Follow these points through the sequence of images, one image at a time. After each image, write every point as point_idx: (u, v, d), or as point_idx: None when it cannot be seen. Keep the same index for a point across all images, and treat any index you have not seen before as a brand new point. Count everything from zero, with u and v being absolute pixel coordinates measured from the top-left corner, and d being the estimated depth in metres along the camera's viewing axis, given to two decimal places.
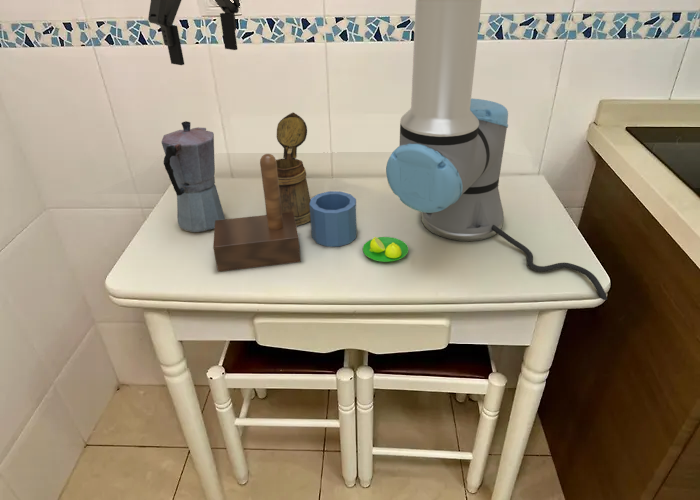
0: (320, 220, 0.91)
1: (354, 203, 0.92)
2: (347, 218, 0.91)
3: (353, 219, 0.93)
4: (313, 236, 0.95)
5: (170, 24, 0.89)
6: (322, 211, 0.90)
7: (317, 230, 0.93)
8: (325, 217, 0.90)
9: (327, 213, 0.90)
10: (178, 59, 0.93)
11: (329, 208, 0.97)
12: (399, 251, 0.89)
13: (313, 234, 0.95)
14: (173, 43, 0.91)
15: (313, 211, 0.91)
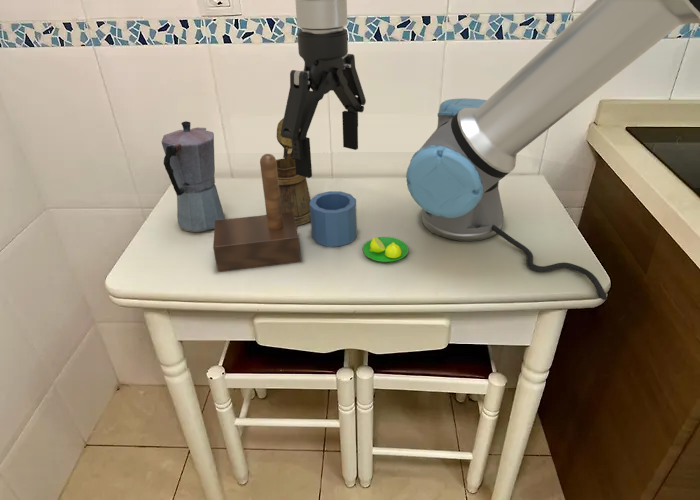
0: (320, 220, 0.91)
1: (354, 203, 0.92)
2: (347, 218, 0.91)
3: (353, 219, 0.93)
4: (313, 236, 0.95)
5: (303, 138, 0.79)
6: (322, 211, 0.90)
7: (317, 230, 0.93)
8: (325, 217, 0.90)
9: (327, 213, 0.90)
10: (306, 172, 0.83)
11: (329, 208, 0.97)
12: (399, 251, 0.89)
13: (313, 234, 0.95)
14: (303, 156, 0.81)
15: (313, 211, 0.91)
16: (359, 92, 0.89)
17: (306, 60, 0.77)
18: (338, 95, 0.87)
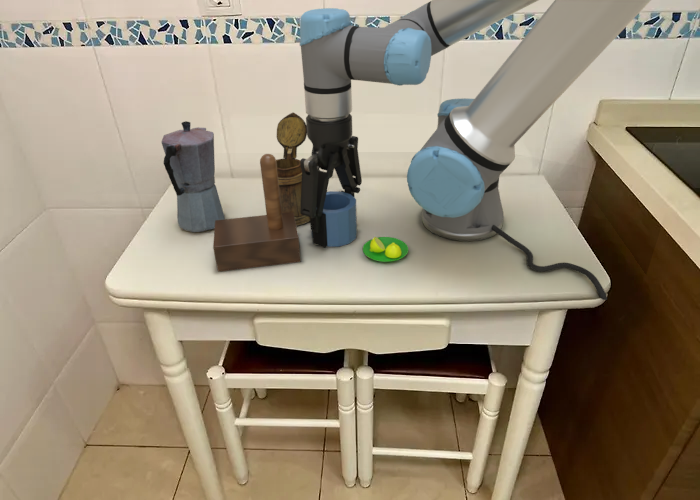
0: None
1: (354, 203, 0.92)
2: (347, 218, 0.91)
3: (353, 219, 0.93)
4: None
5: (321, 214, 0.88)
6: None
7: None
8: None
9: (327, 213, 0.90)
10: (322, 242, 0.92)
11: (329, 208, 0.97)
12: (399, 251, 0.89)
13: None
14: (320, 229, 0.91)
15: None
16: (357, 172, 0.95)
17: (314, 143, 0.84)
18: (338, 174, 0.93)
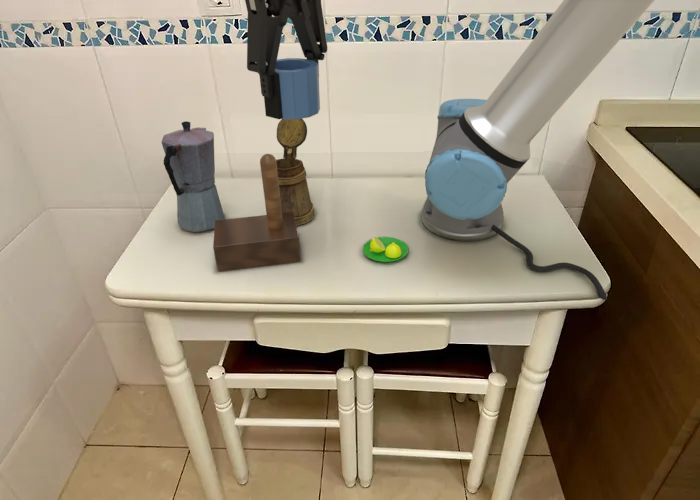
0: None
1: (315, 66, 0.77)
2: (305, 81, 0.76)
3: (314, 86, 0.77)
4: None
5: (272, 72, 0.73)
6: (275, 71, 0.75)
7: None
8: (279, 78, 0.75)
9: (281, 73, 0.74)
10: (276, 112, 0.77)
11: None
12: (399, 251, 0.89)
13: None
14: (272, 94, 0.75)
15: None
16: (321, 34, 0.80)
17: None
18: (298, 32, 0.78)
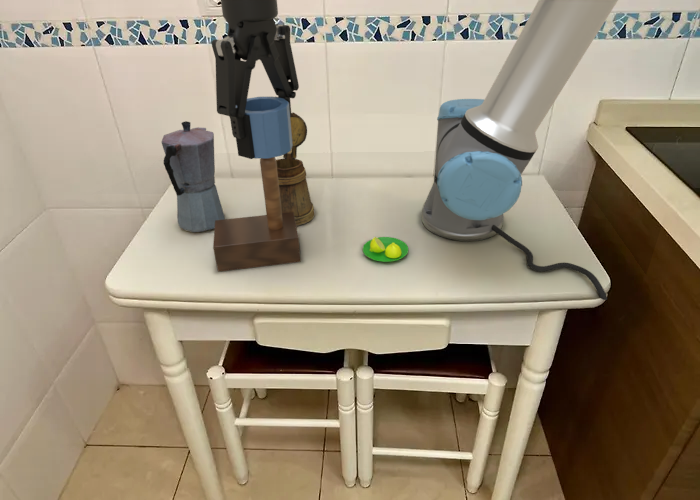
0: None
1: (285, 106, 0.77)
2: (276, 122, 0.76)
3: (285, 125, 0.78)
4: None
5: (242, 114, 0.74)
6: (245, 112, 0.75)
7: None
8: None
9: (251, 114, 0.75)
10: (248, 152, 0.78)
11: None
12: (399, 251, 0.89)
13: None
14: (243, 135, 0.76)
15: None
16: (292, 73, 0.80)
17: (230, 22, 0.69)
18: (268, 72, 0.79)
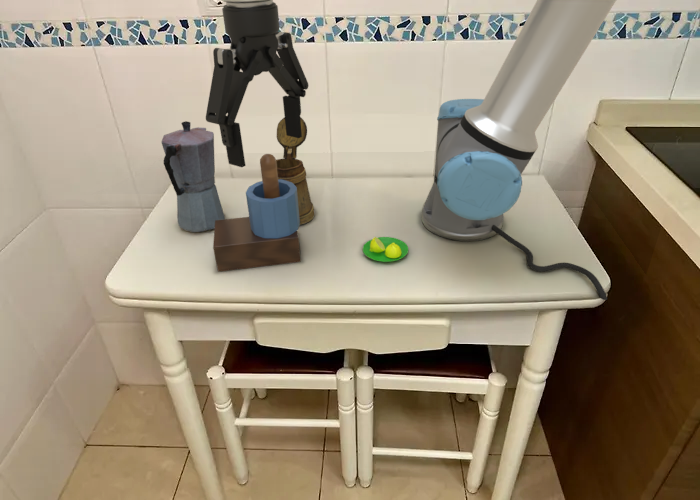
0: (256, 210, 0.84)
1: (294, 191, 0.85)
2: (285, 207, 0.84)
3: (293, 209, 0.86)
4: (251, 227, 0.88)
5: (232, 123, 0.72)
6: (257, 200, 0.83)
7: (254, 221, 0.86)
8: (261, 206, 0.83)
9: (263, 202, 0.83)
10: (238, 160, 0.76)
11: None
12: (399, 251, 0.89)
13: (251, 225, 0.88)
14: (233, 143, 0.75)
15: (249, 200, 0.84)
16: (299, 75, 0.82)
17: (232, 37, 0.70)
18: (276, 78, 0.80)
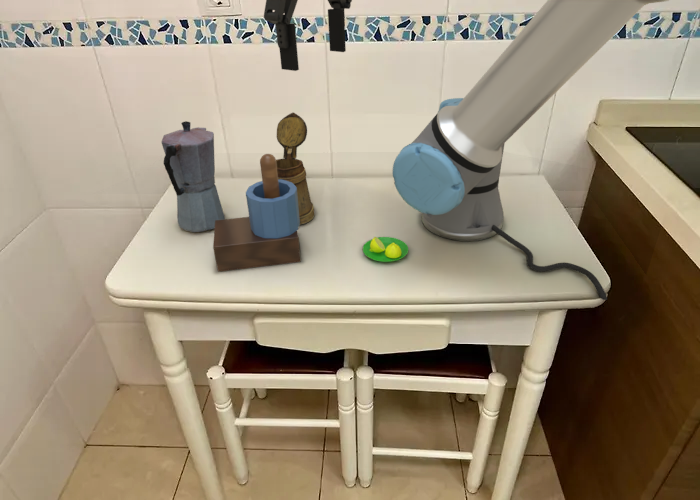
0: (256, 210, 0.84)
1: (294, 191, 0.85)
2: (285, 207, 0.84)
3: (293, 209, 0.86)
4: (251, 227, 0.88)
5: (288, 22, 0.74)
6: (257, 200, 0.83)
7: (254, 221, 0.86)
8: (261, 206, 0.83)
9: (263, 202, 0.83)
10: (292, 64, 0.78)
11: None
12: (399, 251, 0.89)
13: (251, 225, 0.88)
14: (289, 45, 0.76)
15: (249, 200, 0.84)
16: None
17: None
18: None
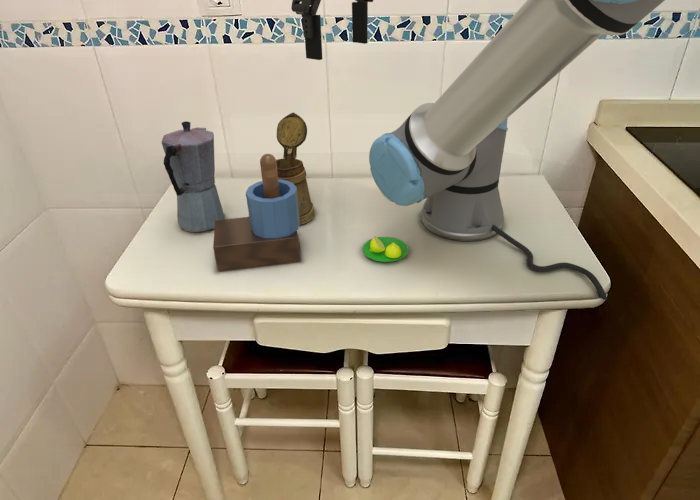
0: (256, 210, 0.84)
1: (294, 191, 0.85)
2: (285, 207, 0.84)
3: (293, 209, 0.86)
4: (251, 227, 0.88)
5: (314, 13, 0.78)
6: (257, 200, 0.83)
7: (254, 221, 0.86)
8: (261, 206, 0.83)
9: (263, 202, 0.83)
10: (317, 53, 0.82)
11: None
12: (399, 251, 0.89)
13: (251, 225, 0.88)
14: (314, 35, 0.80)
15: (249, 200, 0.84)
16: None
17: None
18: None
